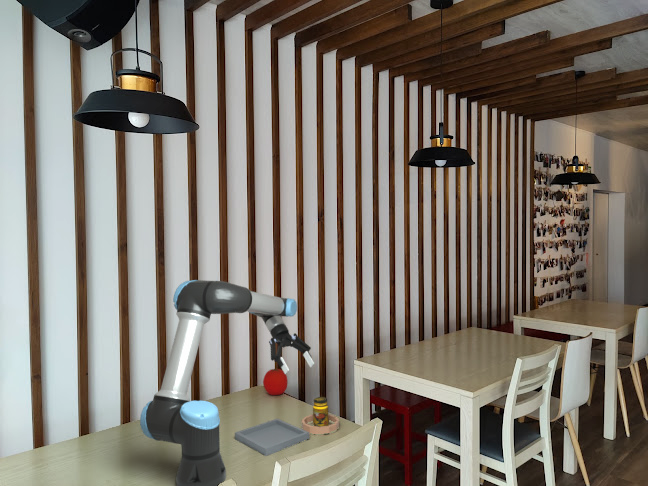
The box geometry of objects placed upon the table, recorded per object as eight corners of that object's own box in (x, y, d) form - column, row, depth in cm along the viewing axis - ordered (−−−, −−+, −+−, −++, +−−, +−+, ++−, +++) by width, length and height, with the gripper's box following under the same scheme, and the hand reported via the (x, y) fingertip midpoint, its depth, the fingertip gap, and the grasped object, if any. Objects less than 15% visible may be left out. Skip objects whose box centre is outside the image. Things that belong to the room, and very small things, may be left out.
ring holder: (319, 438, 180) (318, 430, 180) (294, 427, 191) (294, 420, 191) (346, 427, 190) (346, 420, 190) (321, 418, 201) (321, 411, 201)
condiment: (317, 433, 185) (316, 402, 185) (307, 426, 193) (306, 396, 192) (333, 429, 189) (333, 399, 188) (323, 422, 196) (323, 393, 196)
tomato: (279, 389, 241) (278, 364, 241) (292, 394, 232) (292, 368, 232) (258, 394, 233) (257, 368, 233) (271, 400, 224) (270, 373, 224)
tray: (265, 456, 167) (265, 448, 167) (234, 439, 181) (234, 432, 181) (309, 439, 180) (309, 432, 180) (277, 424, 195) (277, 418, 195)
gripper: (295, 329, 221) (318, 367, 211) (250, 338, 204) (272, 380, 194) (302, 319, 217) (326, 357, 207) (257, 327, 200) (280, 369, 190)
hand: (300, 368), depth 200 cm, fingers open, 13 cm apart
